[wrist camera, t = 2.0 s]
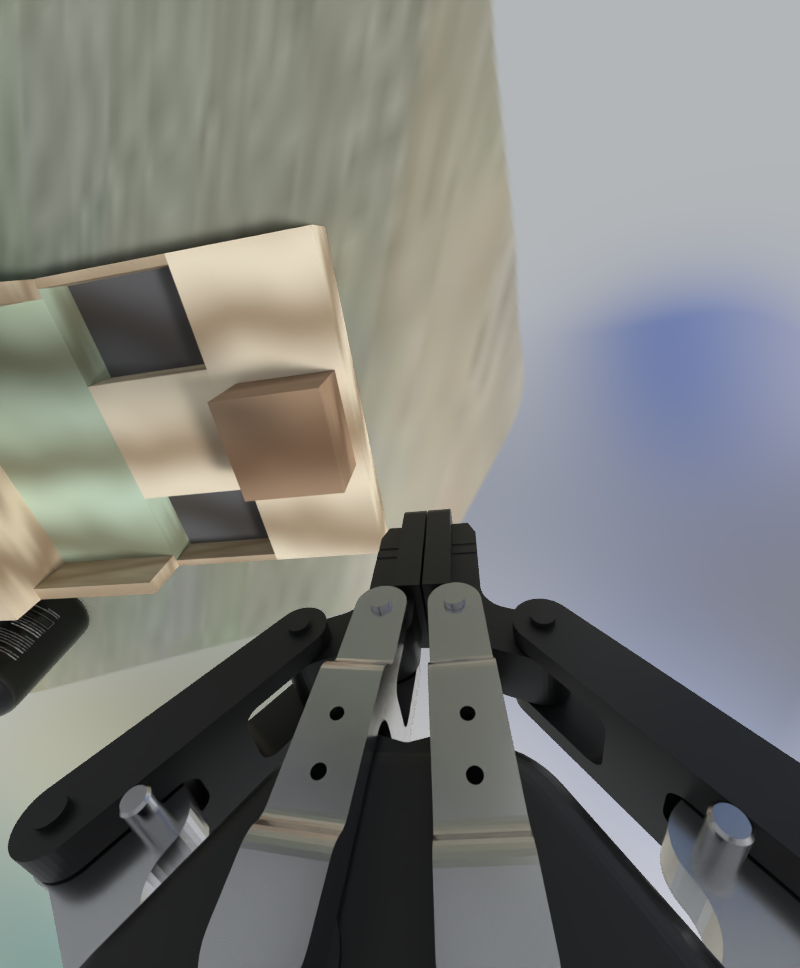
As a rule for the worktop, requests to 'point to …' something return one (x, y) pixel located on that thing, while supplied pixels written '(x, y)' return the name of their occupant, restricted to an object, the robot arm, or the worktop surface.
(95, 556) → the box
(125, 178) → the worktop surface
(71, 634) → the supplement bottle
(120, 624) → the worktop surface
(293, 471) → the walnut block
